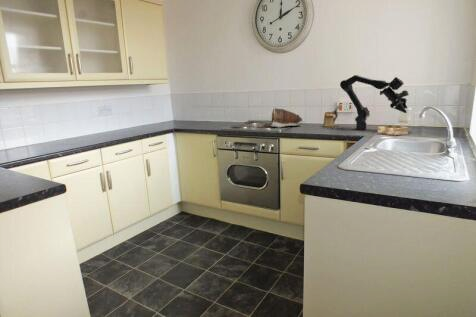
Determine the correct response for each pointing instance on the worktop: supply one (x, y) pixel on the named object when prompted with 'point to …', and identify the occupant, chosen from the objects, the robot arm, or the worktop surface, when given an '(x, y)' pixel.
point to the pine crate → (393, 130)
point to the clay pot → (284, 118)
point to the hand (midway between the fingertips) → (407, 112)
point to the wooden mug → (330, 118)
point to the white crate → (405, 116)
